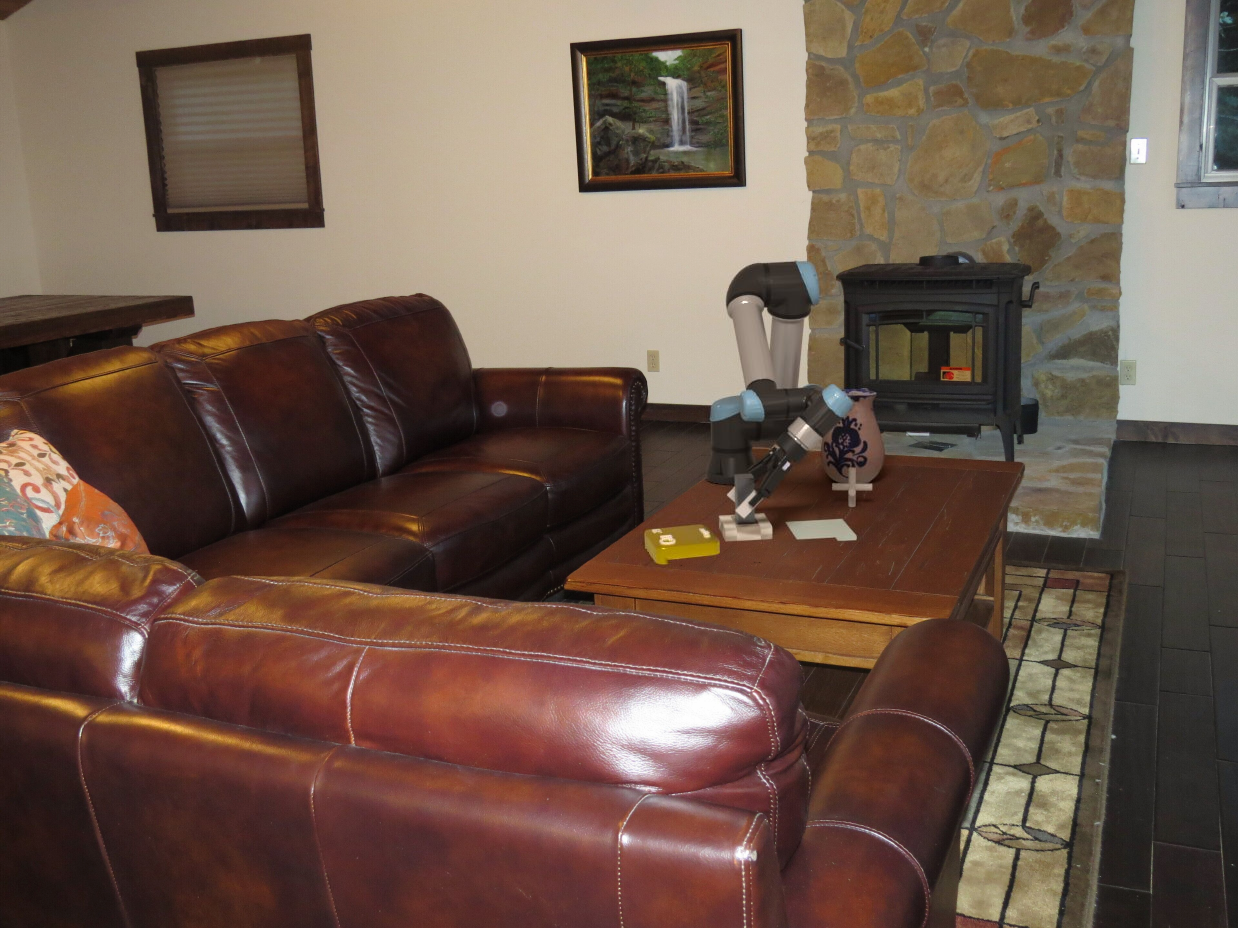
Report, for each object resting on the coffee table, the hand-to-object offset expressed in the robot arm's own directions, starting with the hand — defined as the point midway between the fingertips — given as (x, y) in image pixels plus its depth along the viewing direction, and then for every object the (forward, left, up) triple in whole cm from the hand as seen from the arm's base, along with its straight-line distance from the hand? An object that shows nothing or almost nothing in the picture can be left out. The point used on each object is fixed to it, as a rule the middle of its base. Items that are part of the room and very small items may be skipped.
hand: (735, 506), depth 266 cm
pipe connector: (-21, +33, -8) cm, 40 cm away
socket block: (0, +2, -8) cm, 8 cm away
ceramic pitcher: (-47, +40, -8) cm, 62 cm away
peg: (0, +2, -7) cm, 7 cm away
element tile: (+8, -14, -8) cm, 18 cm away
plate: (0, +20, -8) cm, 22 cm away
